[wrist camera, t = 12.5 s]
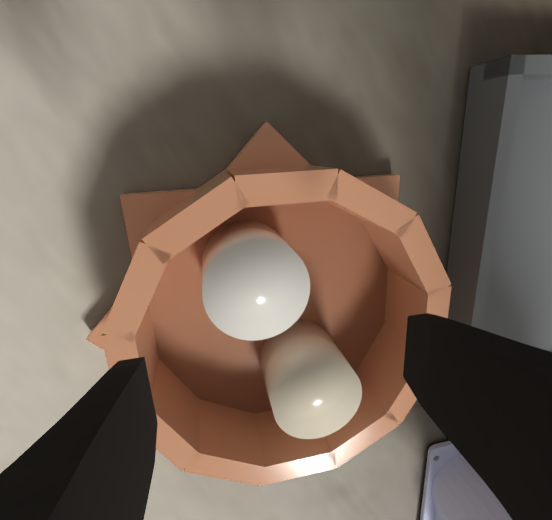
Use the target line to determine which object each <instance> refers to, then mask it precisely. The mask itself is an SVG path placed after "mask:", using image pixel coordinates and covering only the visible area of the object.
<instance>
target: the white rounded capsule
mask: <svg viewBox="0 0 552 520" xmlns="http://www.w3.org/2000/svg"><path fill="white" fill-rule="evenodd" d="M309 295H310V278H309V273H308V271H307V268H306V266H305V264H304V262H303V261H302V259H301V258H300V257H299V256H298V255H297V253H296V252H295V251H294V250H293V249H292V248H291V247H290V246H289V245H288V244H287V243H286V242H285V240H284V239H283V238H282V237H281V236H280V235H279V234H278V233H277V232H276V231H275V230H274V229H273V228H271V227H270V226H268V225H266V224H265V223H262V222H259V221H255V220H237V221H234V222H230V223H228V224H226V225H224V226H222V227H221V228H219V229H218V230H217V231H216V232H215V233H214V234H213V235H212V236H211V237H210V239H209V240H208V242H207V244H206V246H205V248H204V251H203V255H202V299H203V304H204V308H205V311H206V313H207V315H208V317H209V318H210V320H211V321H212V323H213V324H214V325H215V326H216V327H217V328H218V329H220V330H221V331H222V332H224V333H226V334H227V335H229V336H232V337H234V338H237V339H241V340H249V341H256V340H264V339H268V338H271V337H274V336H276V335H279V334H281V333H282V332H284V331H286V330H287V329H288V328H290V327H291V326H292V325H293V324H294V323H295V322H296V321H297V320H298V319H299V317H300V316H301V315H302V313H303V311H304V310H305V307H306V305H307V303H308V299H309Z"/></svg>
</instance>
